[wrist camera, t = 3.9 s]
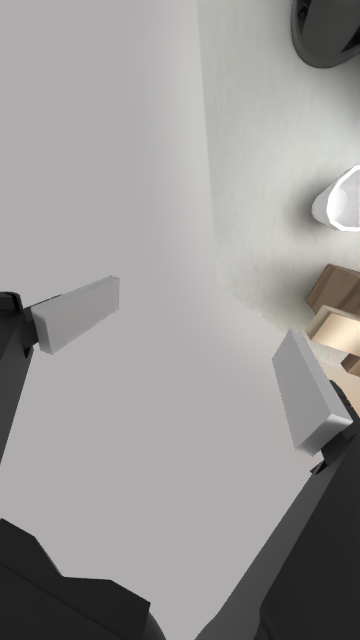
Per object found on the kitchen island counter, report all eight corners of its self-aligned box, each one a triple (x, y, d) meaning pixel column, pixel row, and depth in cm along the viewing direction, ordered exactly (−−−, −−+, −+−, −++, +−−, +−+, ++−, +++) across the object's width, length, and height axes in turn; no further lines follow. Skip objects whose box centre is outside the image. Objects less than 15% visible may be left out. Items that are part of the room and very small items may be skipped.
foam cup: (296, 227, 43) (316, 228, 32) (313, 177, 38) (343, 158, 27) (343, 231, 41) (381, 233, 30) (366, 179, 36) (422, 159, 25)
